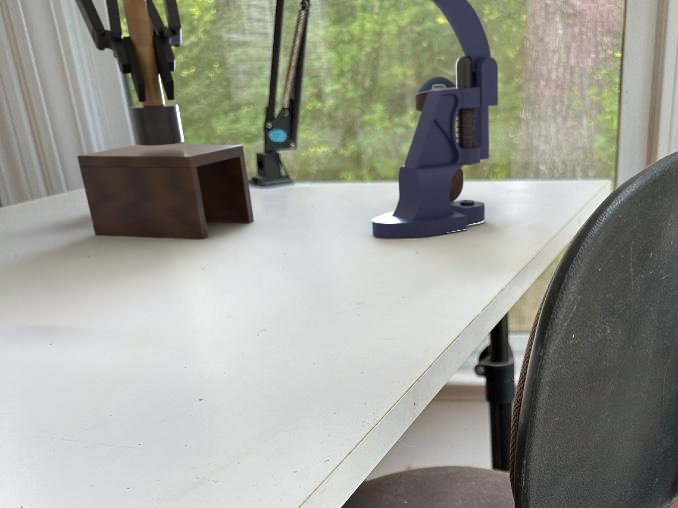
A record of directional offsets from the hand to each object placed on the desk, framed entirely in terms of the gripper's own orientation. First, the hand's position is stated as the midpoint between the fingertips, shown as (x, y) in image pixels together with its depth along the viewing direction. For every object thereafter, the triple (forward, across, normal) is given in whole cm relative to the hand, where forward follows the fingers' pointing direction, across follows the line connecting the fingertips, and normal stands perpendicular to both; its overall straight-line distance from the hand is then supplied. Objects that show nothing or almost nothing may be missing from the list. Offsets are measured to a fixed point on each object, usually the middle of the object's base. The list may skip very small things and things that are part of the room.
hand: (156, 91), depth 104 cm
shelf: (+8, 0, +14) cm, 16 cm away
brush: (+1, 0, +7) cm, 7 cm away
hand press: (+22, +27, 0) cm, 35 cm away
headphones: (+11, +36, +11) cm, 39 cm away
